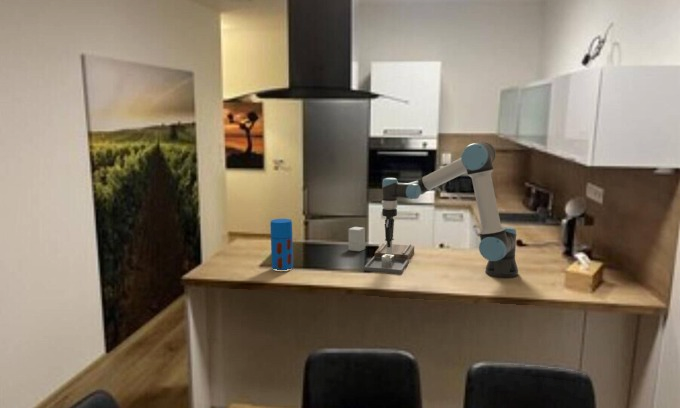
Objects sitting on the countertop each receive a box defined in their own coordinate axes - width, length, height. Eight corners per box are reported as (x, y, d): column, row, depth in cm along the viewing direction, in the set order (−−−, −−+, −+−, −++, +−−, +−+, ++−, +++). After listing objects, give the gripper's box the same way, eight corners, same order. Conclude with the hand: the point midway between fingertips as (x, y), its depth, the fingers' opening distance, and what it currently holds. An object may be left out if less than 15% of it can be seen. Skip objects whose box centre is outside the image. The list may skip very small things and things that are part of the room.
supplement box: (365, 248, 292) (365, 227, 290) (359, 251, 286) (359, 230, 284) (354, 247, 296) (354, 226, 294) (348, 250, 290) (348, 228, 288)
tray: (408, 262, 264) (408, 259, 263) (401, 273, 245) (401, 270, 244) (373, 259, 269) (373, 256, 269) (363, 270, 250) (363, 266, 250)
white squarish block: (394, 262, 263) (394, 254, 262) (392, 264, 258) (392, 257, 257) (385, 261, 264) (385, 254, 264) (382, 264, 260) (382, 256, 259)
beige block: (392, 255, 257) (391, 257, 253) (392, 265, 258) (391, 267, 254) (383, 254, 259) (381, 256, 255) (383, 264, 259) (381, 266, 256)
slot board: (414, 252, 283) (414, 244, 282) (407, 262, 264) (408, 253, 263) (382, 250, 288) (383, 241, 287) (374, 259, 270) (374, 250, 269)
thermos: (297, 268, 255) (296, 220, 251) (281, 273, 247) (280, 223, 243) (283, 264, 262) (282, 217, 258) (267, 269, 254) (265, 220, 250)
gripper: (385, 205, 264) (384, 249, 268) (379, 210, 252) (379, 255, 256) (399, 206, 262) (398, 250, 266) (394, 210, 250) (393, 256, 254)
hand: (389, 252), depth 261 cm, fingers closed
